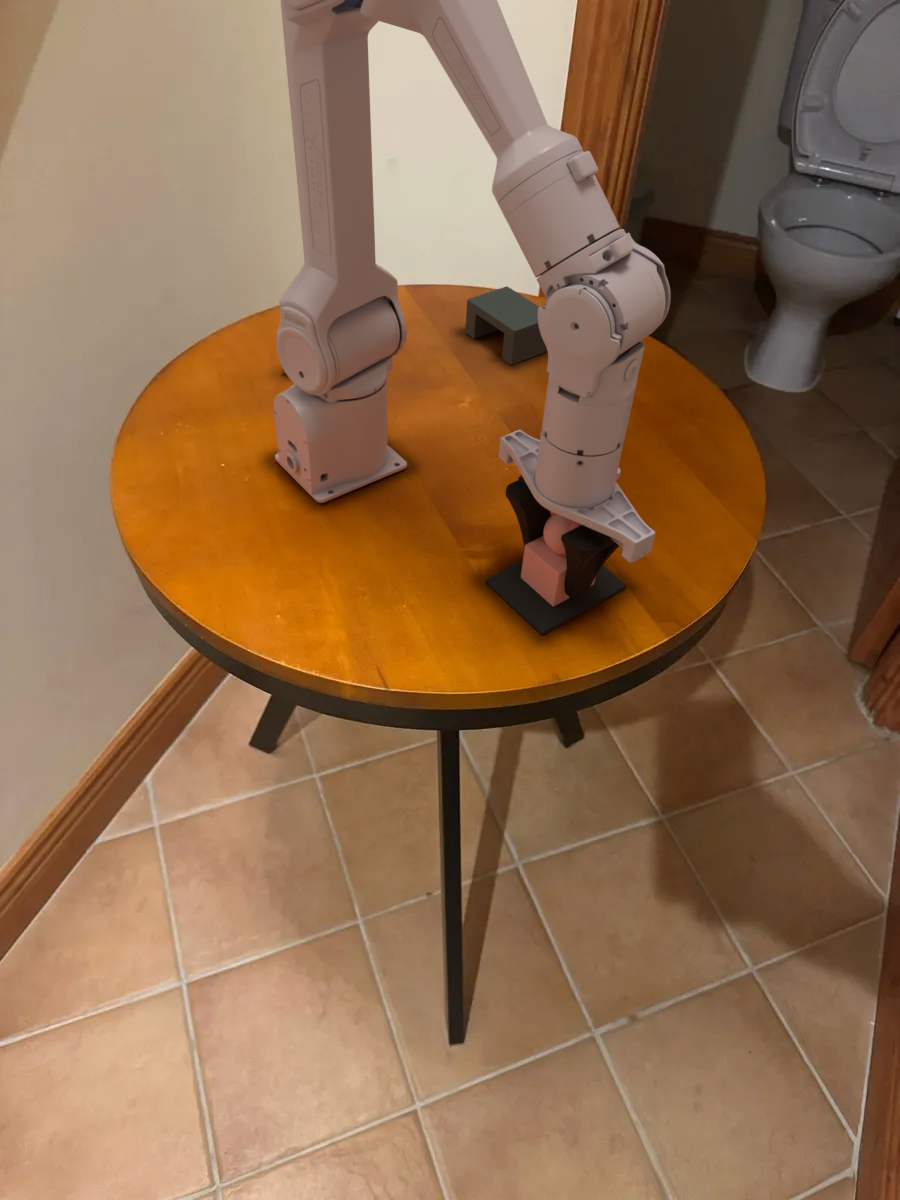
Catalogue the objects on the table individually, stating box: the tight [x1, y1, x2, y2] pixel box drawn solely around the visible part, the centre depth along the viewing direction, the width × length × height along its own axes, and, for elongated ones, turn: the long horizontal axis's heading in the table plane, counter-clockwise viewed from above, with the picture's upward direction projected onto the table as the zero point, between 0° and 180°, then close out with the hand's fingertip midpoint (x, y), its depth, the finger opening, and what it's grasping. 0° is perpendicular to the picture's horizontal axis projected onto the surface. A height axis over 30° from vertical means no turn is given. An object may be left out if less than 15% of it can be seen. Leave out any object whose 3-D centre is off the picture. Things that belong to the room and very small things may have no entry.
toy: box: [521, 511, 595, 607], centre depth 70 cm, size 4×4×7 cm
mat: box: [484, 559, 628, 636], centre depth 73 cm, size 9×7×1 cm
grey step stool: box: [464, 286, 548, 366], centre depth 98 cm, size 6×8×4 cm
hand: (557, 573), depth 72 cm, fingers closed on toy, 4 cm apart
